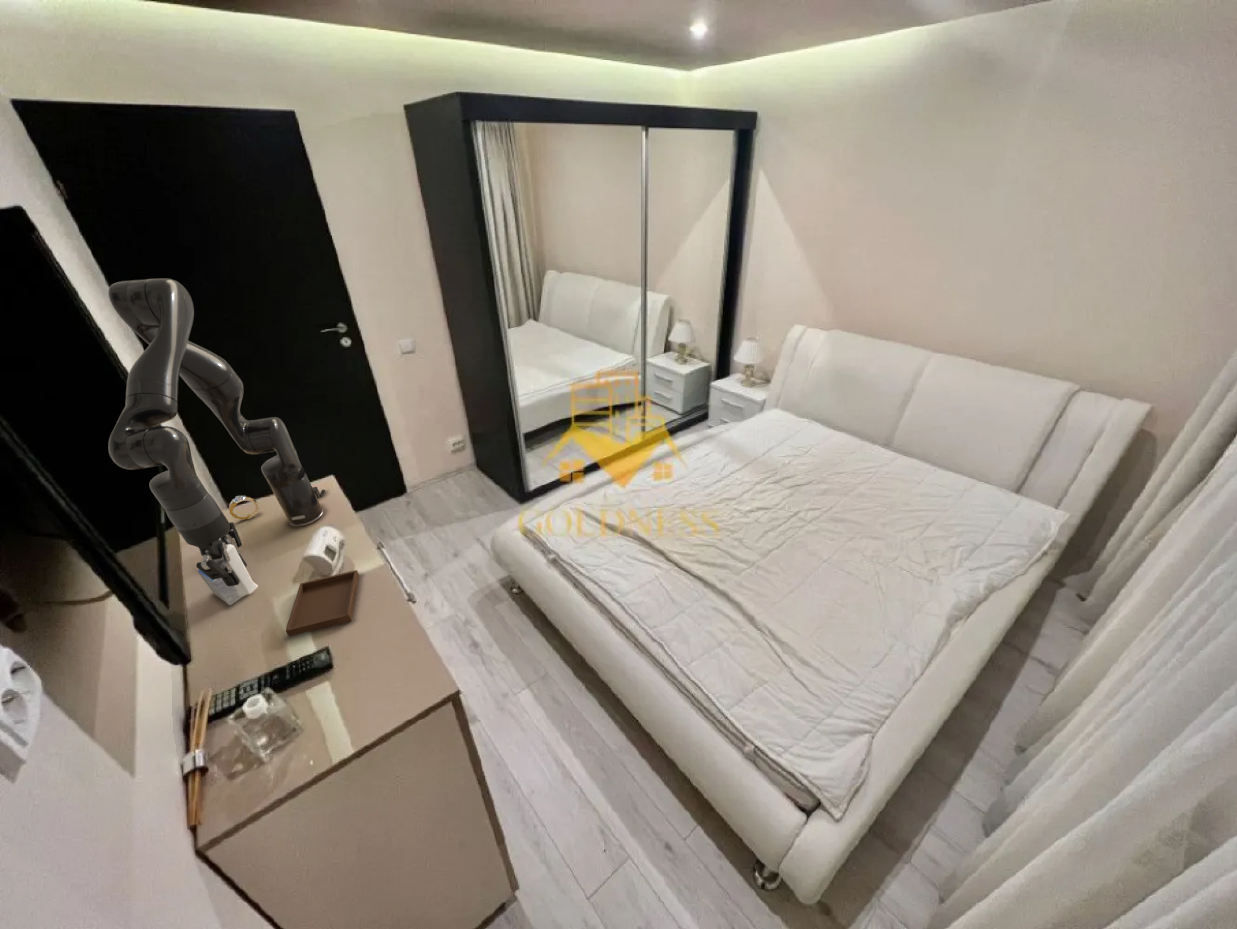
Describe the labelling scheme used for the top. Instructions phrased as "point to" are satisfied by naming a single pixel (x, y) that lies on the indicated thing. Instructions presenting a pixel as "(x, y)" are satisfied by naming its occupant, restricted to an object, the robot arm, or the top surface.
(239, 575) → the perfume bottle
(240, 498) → the ring
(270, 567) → the top surface
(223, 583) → the medicine box
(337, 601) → the tray
